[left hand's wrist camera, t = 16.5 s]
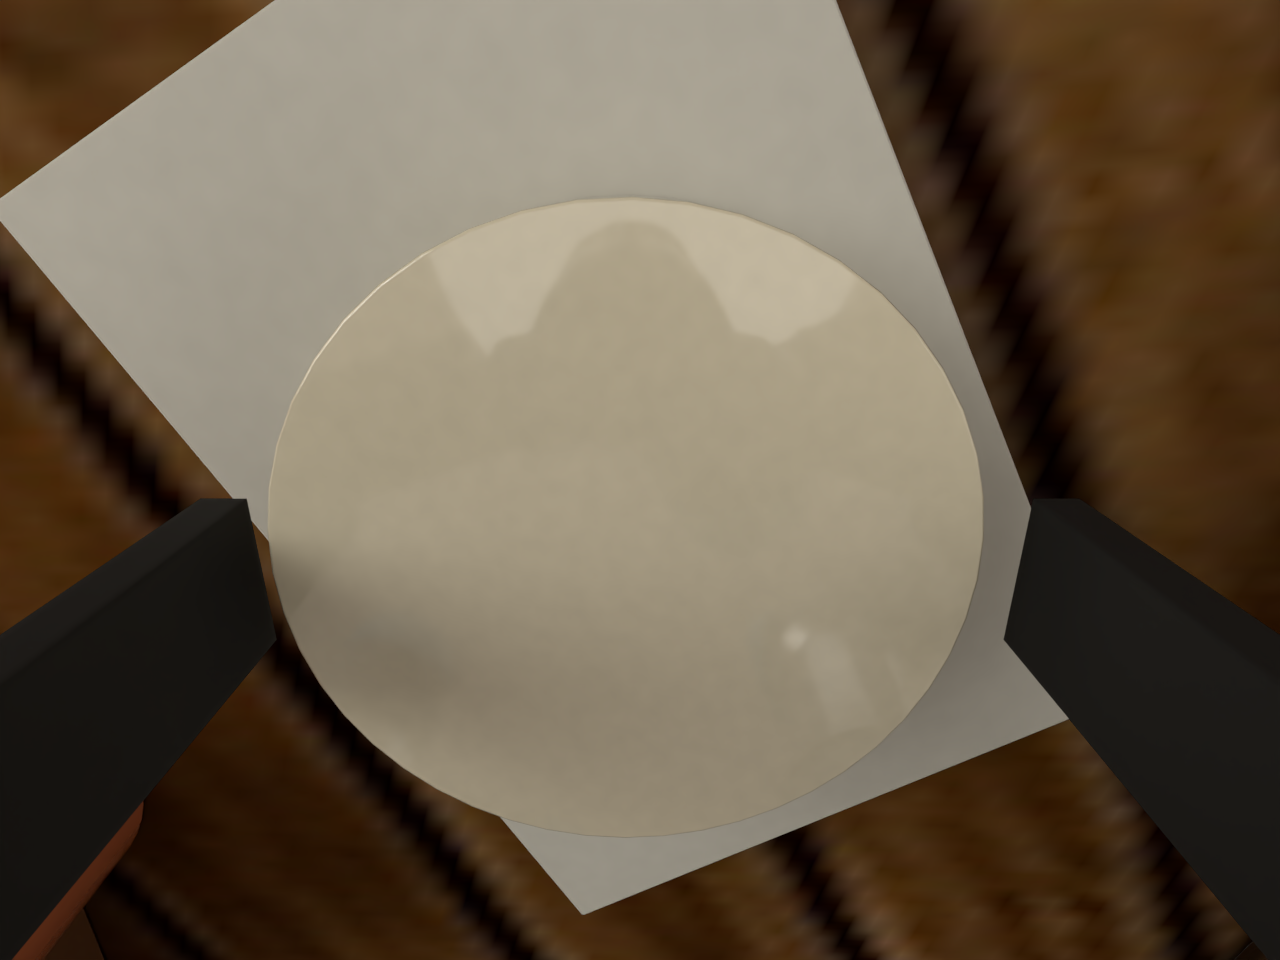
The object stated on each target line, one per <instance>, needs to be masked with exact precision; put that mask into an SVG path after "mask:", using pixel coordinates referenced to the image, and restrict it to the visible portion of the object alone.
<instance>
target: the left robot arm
mask: <svg viewBox="0 0 1280 960" xmlns="http://www.w3.org/2000/svg"><path fill="white" fill-rule="evenodd" d="M276 640H277V639H276V635H275V630H274V625H273V620H272V616H271V611H270V606H269V602H268V597H267V592H266V587H265V583H264V578H263V573H262V568H261V564H260V559H259V554H258V549H257V545H256V540H255V535H254V531H253V526H252V521H251V516H250V512H249V507H248V502H247V499H200V500H198V501H197V502H195V503H194V504H192V505H191V506H189V507H188V508H186V509H185V510H183V511H182V512H180V513H179V514H177V515H176V516H175V517H173V518H172V519H170V520H169V521H167V522H166V523H164V524H163V525H161V526H160V527H158V528H157V529H155V530H154V531H152V532H151V533H149V534H148V535H147V536H145V537H144V538H142V539H141V540H139V541H138V542H136V543H135V544H133V545H132V546H130V547H129V548H127V549H126V550H124V551H123V552H122V553H120V554H119V555H117V556H116V557H114V558H113V559H111V560H110V561H108V562H107V563H105V564H104V565H102V566H101V567H99V568H98V569H97V570H95V571H94V572H92V573H91V574H89V575H88V576H86V577H85V578H83V579H82V580H80V581H79V582H77V583H76V584H74V585H73V586H72V587H70V588H69V589H67V590H66V591H64V592H63V593H61V594H60V595H58V596H57V597H55V598H54V599H52V600H51V601H49V602H48V603H47V604H45V605H44V606H42V607H41V608H39V609H38V610H36V611H35V612H33V613H32V614H30V615H29V616H27V617H26V618H24V619H23V620H21V621H20V622H19V623H17V624H16V625H14V626H13V627H11V628H10V629H8V630H7V631H5V632H4V633H2V634H1V635H0V960H12V959H13V958H14V957H15V955H16V954H17V953H18V952H19V951H20V949H21V948H22V947H23V946H24V944H25V943H26V942H27V941H28V940H29V938H30V937H31V936H32V935H33V934H34V932H35V931H36V930H37V929H38V928H39V926H40V925H41V924H42V923H43V922H44V920H45V919H46V918H47V917H48V915H49V914H50V913H51V912H52V911H53V909H54V908H55V907H56V906H57V905H58V903H59V902H60V901H61V900H62V899H63V897H64V896H65V895H66V894H67V892H68V891H69V890H70V889H71V888H72V886H73V885H74V884H75V883H76V882H77V880H78V879H79V878H80V877H81V876H82V874H83V873H84V872H85V871H86V870H87V868H88V867H89V866H90V865H91V863H92V862H93V861H94V860H95V859H96V857H97V856H98V855H99V854H100V853H101V851H102V850H103V849H104V848H105V847H106V845H107V844H108V843H109V842H110V840H111V839H112V838H113V837H114V836H115V834H116V833H117V832H118V831H119V830H120V828H121V827H122V826H123V825H124V824H125V822H126V821H127V820H128V819H129V818H130V816H131V815H132V814H133V813H134V811H135V810H136V809H137V808H138V807H139V805H140V804H141V803H142V802H143V801H144V799H145V798H146V797H147V796H148V795H149V793H150V792H151V791H152V790H153V788H154V787H155V786H156V785H157V784H158V782H159V781H160V780H161V779H162V778H163V776H164V775H165V774H166V773H167V772H168V770H169V769H170V768H171V767H172V766H173V764H174V763H175V762H176V761H177V759H178V758H179V757H180V756H181V755H182V753H183V752H184V751H185V750H186V749H187V747H188V746H189V745H190V744H191V743H192V741H193V740H194V739H195V738H196V736H197V735H198V734H199V733H200V732H201V730H202V729H203V728H204V727H205V726H206V724H207V723H208V722H209V721H210V720H211V718H212V717H213V716H214V715H215V714H216V712H217V711H218V710H219V709H220V707H221V706H222V705H223V704H224V703H225V701H226V700H227V699H228V698H229V697H230V695H231V694H232V693H233V692H234V691H235V689H236V688H237V687H238V686H239V684H240V683H241V682H242V681H243V680H244V678H245V677H246V676H247V675H248V674H249V672H250V671H251V670H252V669H253V668H254V666H255V665H256V664H257V663H258V662H259V660H260V659H261V658H262V657H263V655H264V654H265V653H266V652H267V651H268V649H269V648H270V647H271V646H272V645H273V643H274V642H275V641H276ZM1003 640H1004V641H1005V642H1006V643H1007V645H1008V646H1009V647H1010V648H1011V649H1012V651H1013V652H1014V653H1015V654H1016V655H1017V657H1018V658H1019V659H1020V660H1021V662H1022V663H1023V664H1024V665H1025V666H1026V668H1027V669H1028V670H1029V671H1030V672H1031V674H1032V675H1033V676H1034V677H1035V678H1036V680H1037V681H1038V682H1039V683H1040V684H1041V686H1042V687H1043V688H1044V689H1045V691H1046V692H1047V693H1048V694H1049V695H1050V697H1051V698H1052V699H1053V700H1054V701H1055V703H1056V704H1057V705H1058V706H1059V707H1060V709H1061V710H1062V711H1063V712H1064V714H1065V715H1066V716H1067V717H1068V718H1069V720H1070V721H1071V722H1072V723H1073V724H1074V726H1075V727H1076V728H1077V729H1078V730H1079V732H1080V733H1081V734H1082V735H1083V736H1084V738H1085V739H1086V740H1087V741H1088V743H1089V744H1090V745H1091V746H1092V747H1093V749H1094V750H1095V751H1096V752H1097V753H1098V755H1099V756H1100V757H1101V758H1102V759H1103V761H1104V762H1105V763H1106V764H1107V766H1108V767H1109V768H1110V769H1111V770H1112V772H1113V773H1114V774H1115V775H1116V776H1117V778H1118V779H1119V780H1120V781H1121V782H1122V784H1123V785H1124V786H1125V787H1126V788H1127V790H1128V791H1129V792H1130V793H1131V795H1132V796H1133V797H1134V798H1135V799H1136V801H1137V802H1138V803H1139V804H1140V805H1141V807H1142V808H1143V809H1144V810H1145V811H1146V813H1147V814H1148V815H1149V816H1150V818H1151V819H1152V820H1153V821H1154V822H1155V824H1156V825H1157V826H1158V827H1159V828H1160V830H1161V831H1162V832H1163V833H1164V834H1165V836H1166V837H1167V838H1168V839H1169V840H1170V842H1171V843H1172V844H1173V845H1174V847H1175V848H1176V849H1177V850H1178V851H1179V853H1180V854H1181V855H1182V856H1183V857H1184V859H1185V860H1186V861H1187V862H1188V863H1189V865H1190V866H1191V867H1192V868H1193V870H1194V871H1195V872H1196V873H1197V874H1198V876H1199V877H1200V878H1201V879H1202V880H1203V882H1204V883H1205V884H1206V885H1207V886H1208V888H1209V889H1210V890H1211V891H1212V892H1213V894H1214V895H1215V896H1216V897H1217V899H1218V900H1219V901H1220V902H1221V903H1222V905H1223V906H1224V907H1225V908H1226V909H1227V911H1228V912H1229V913H1230V914H1231V915H1232V917H1233V918H1234V919H1235V920H1236V922H1237V923H1238V924H1239V925H1240V926H1241V928H1242V929H1243V930H1244V931H1245V932H1246V934H1247V935H1248V936H1249V937H1250V938H1251V940H1252V941H1253V942H1252V943H1250V944H1249V945H1248V946H1247V947H1246V948H1245V949H1244V950H1243V951H1242V952H1241V953H1240V954H1239V955H1238V956H1237V957H1236V958H1235V959H1234V960H1280V635H1279V634H1278V633H1276V632H1275V631H1273V630H1272V629H1270V628H1269V627H1267V626H1266V625H1264V624H1263V623H1261V622H1260V621H1259V620H1257V619H1256V618H1254V617H1253V616H1251V615H1250V614H1248V613H1247V612H1245V611H1244V610H1242V609H1241V608H1239V607H1238V606H1236V605H1235V604H1233V603H1232V602H1231V601H1229V600H1228V599H1226V598H1225V597H1223V596H1222V595H1220V594H1219V593H1217V592H1216V591H1214V590H1213V589H1211V588H1210V587H1208V586H1207V585H1206V584H1204V583H1203V582H1201V581H1200V580H1198V579H1197V578H1195V577H1194V576H1192V575H1191V574H1189V573H1188V572H1186V571H1185V570H1183V569H1182V568H1181V567H1179V566H1178V565H1176V564H1175V563H1173V562H1172V561H1170V560H1169V559H1167V558H1166V557H1164V556H1163V555H1161V554H1160V553H1158V552H1157V551H1156V550H1154V549H1153V548H1151V547H1150V546H1148V545H1147V544H1145V543H1144V542H1142V541H1141V540H1139V539H1138V538H1136V537H1135V536H1133V535H1132V534H1131V533H1129V532H1128V531H1126V530H1125V529H1123V528H1122V527H1120V526H1119V525H1117V524H1116V523H1114V522H1113V521H1111V520H1110V519H1108V518H1107V517H1105V516H1104V515H1103V514H1101V513H1100V512H1098V511H1097V510H1095V509H1094V508H1092V507H1091V506H1089V505H1088V504H1086V503H1085V502H1083V501H1082V500H1080V499H1033V502H1032V507H1031V512H1030V516H1029V521H1028V526H1027V531H1026V535H1025V540H1024V545H1023V550H1022V554H1021V559H1020V564H1019V568H1018V573H1017V578H1016V583H1015V587H1014V592H1013V597H1012V602H1011V606H1010V611H1009V616H1008V620H1007V625H1006V630H1005V635H1004V639H1003Z"/></svg>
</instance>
